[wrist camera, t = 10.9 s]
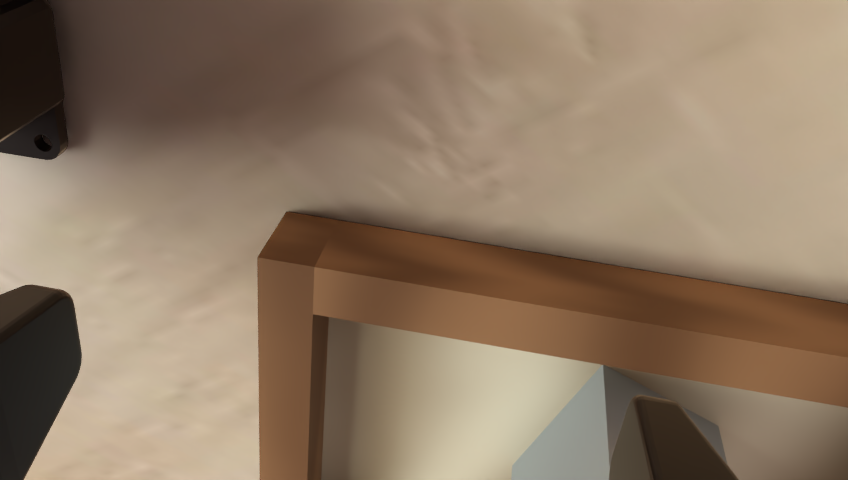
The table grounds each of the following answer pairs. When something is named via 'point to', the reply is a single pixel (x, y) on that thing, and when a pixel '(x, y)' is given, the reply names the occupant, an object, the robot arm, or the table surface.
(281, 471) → the wooden frame
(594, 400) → the tall grey pillar block
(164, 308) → the table surface
